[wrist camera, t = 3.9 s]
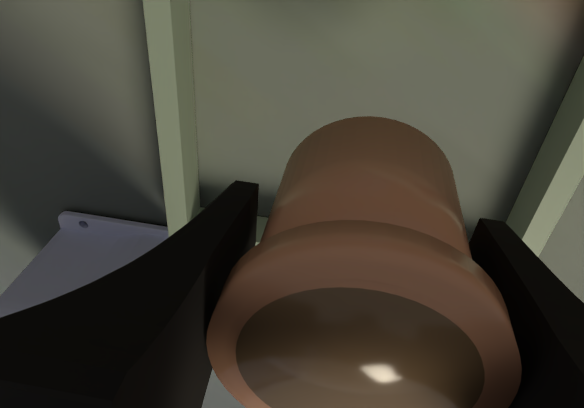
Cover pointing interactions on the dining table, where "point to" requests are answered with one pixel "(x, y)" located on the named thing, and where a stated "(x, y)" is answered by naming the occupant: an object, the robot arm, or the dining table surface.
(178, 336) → the robot arm
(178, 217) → the pale green square frame
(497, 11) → the dining table surface
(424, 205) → the seedling pot
